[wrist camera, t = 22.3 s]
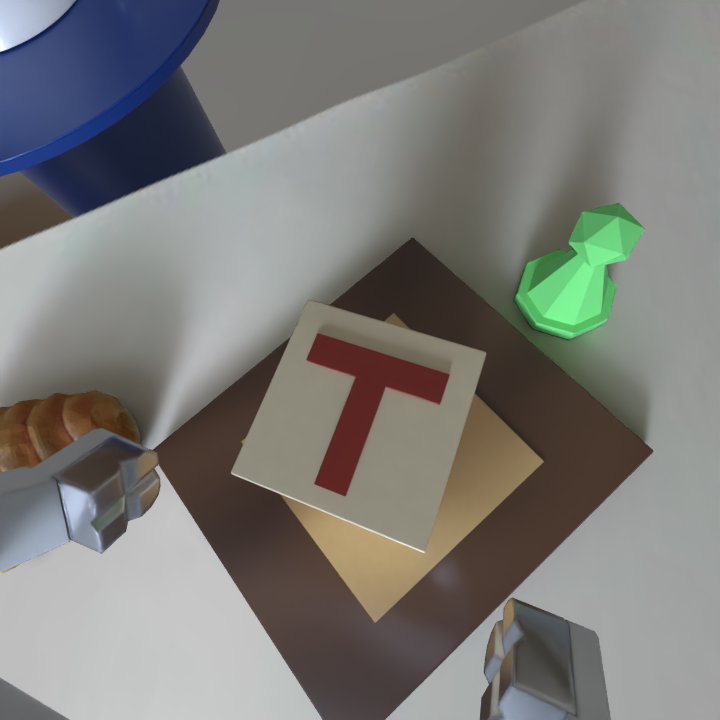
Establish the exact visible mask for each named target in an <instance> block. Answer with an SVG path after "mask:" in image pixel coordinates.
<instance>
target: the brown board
mask: <svg viewBox="0 0 720 720" xmlns="http://www.w3.org/2000/svg"><path fill="white" fill-rule="evenodd" d="M330 306H333V307H336V308H340V309H343V310H346V311H350V312H353V313H356V314H360V315H363V316H367V317H370V318H373V319H377V320H380V321H383V322H387V323H390V324H393V325H397V326H400V327H404V328H407V329H410V330H414V331H417V332H420V333H424V334H427V335H431V336H434V337H437V338H441V339H444V340H447V341H451V342H454V343H457V344H461V345H464V346H468V347H471V348H474V349H478V350H481V351H484V352H486V357H485V361H484V364H483V367H482V370H481V374H480V377H479V380H478V383H477V387H476V390H475V393H474V396H473V400H472V403H471V406H470V409H469V413H468V416H467V419H466V423H465V426H464V429H463V432H462V436H461V439H460V442H459V445H458V449H457V452H456V455H455V458H454V462H453V465H452V468H451V471H450V475H449V478H448V481H447V484H446V488H445V491H444V494H443V497H442V501H441V504H440V507H439V511H438V514H437V517H436V520H435V524H434V527H433V530H432V533H431V537H430V540H429V543H428V546H427V550H426V552H425V553H422V552H420V551H417V550H415V549H412V548H410V547H408V546H405V545H403V544H400V543H398V542H395V541H393V540H391V539H388V538H386V537H383V536H381V535H378V534H376V533H374V532H371V531H369V530H366V529H364V528H361V527H359V526H357V525H354V524H352V523H349V522H347V521H344V520H342V519H340V518H337V517H335V516H332V515H330V514H327V513H325V512H323V511H320V510H318V509H315V508H313V507H310V506H308V505H305V504H303V503H301V502H298V501H296V500H293V499H291V498H288V497H286V496H284V495H281V494H279V493H276V492H274V491H271V490H269V489H267V488H264V487H262V486H259V485H257V484H254V483H252V482H250V481H247V480H245V479H242V478H240V477H237V476H235V475H233V474H231V471H232V469H233V466H234V464H235V462H236V460H237V457H238V455H239V453H240V451H241V448H242V446H243V444H244V442H245V439H246V437H247V435H248V433H249V430H250V428H251V426H252V424H253V421H254V419H255V417H256V415H257V412H258V410H259V408H260V406H261V403H262V401H263V399H264V397H265V394H266V392H267V390H268V388H269V385H270V383H271V381H272V379H273V376H274V374H275V372H276V370H277V367H278V365H279V363H280V361H281V358H282V356H283V354H284V352H285V349H286V347H287V345H288V343H289V340H290V338H291V337H290V338H289V339H288V340H287V341H285V342H284V343H283V344H282V345H280V346H279V347H278V348H277V349H276V350H274V351H273V352H272V353H271V354H269V355H268V356H267V357H266V358H265V359H263V360H262V361H261V362H260V363H258V364H257V365H256V366H255V367H254V368H252V369H251V370H250V371H249V372H247V373H246V374H245V375H244V376H243V377H241V378H240V379H239V380H238V381H236V382H235V383H234V384H233V385H232V386H230V387H229V388H228V389H227V390H225V391H224V392H223V393H222V394H221V395H219V396H218V397H217V398H216V399H214V400H213V401H212V402H211V403H210V404H208V405H207V406H206V407H205V408H203V409H202V410H201V411H200V412H199V413H197V414H196V415H195V416H194V417H192V418H191V419H190V420H189V421H188V422H186V423H185V424H184V425H183V426H181V427H180V428H179V429H178V430H177V431H175V432H174V433H173V434H172V435H170V436H169V437H168V438H167V439H166V440H164V441H163V442H162V443H161V444H159V445H158V446H157V447H156V448H155V449H153V451H155V452H157V453H158V459H159V466H160V468H161V469H162V471H163V472H164V474H165V475H166V477H167V478H168V480H169V482H170V483H171V485H172V486H173V488H174V489H175V491H176V492H177V494H178V495H179V497H180V499H181V500H182V502H183V503H184V505H185V506H186V508H187V509H188V511H189V513H190V514H191V516H192V517H193V519H194V520H195V522H196V523H197V525H198V527H199V528H200V530H201V531H202V533H203V534H204V536H205V537H206V539H207V541H208V542H209V544H210V545H211V547H212V548H213V550H214V551H215V553H216V554H217V556H218V558H219V559H220V561H221V562H222V564H223V565H224V567H225V568H226V570H227V572H228V573H229V575H230V576H231V578H232V579H233V581H234V582H235V584H236V586H237V587H238V589H239V590H240V592H241V593H242V595H243V596H244V598H245V600H246V601H247V603H248V604H249V606H250V607H251V609H252V610H253V612H254V613H255V615H256V617H257V618H258V620H259V621H260V623H261V624H262V626H263V627H264V629H265V631H266V632H267V634H268V635H269V637H270V638H271V640H272V641H273V643H274V645H275V646H276V648H277V649H278V651H279V652H280V654H281V655H282V657H283V659H284V660H285V662H286V663H287V665H288V666H289V668H290V669H291V671H292V673H293V674H294V676H295V677H296V679H297V680H298V682H299V683H300V685H301V686H302V688H303V690H304V691H305V693H306V694H307V696H308V697H309V699H310V700H311V702H312V704H313V705H314V707H315V708H316V710H317V711H318V713H319V714H320V716H321V718H322V719H323V720H385V719H386V718H387V717H388V716H389V715H390V714H391V713H392V712H393V711H394V710H395V709H396V708H397V707H398V706H399V705H400V704H401V703H402V702H403V701H404V700H405V699H406V698H407V697H408V696H409V695H410V694H411V693H412V692H413V691H414V690H415V689H416V688H417V687H418V686H419V685H420V684H421V683H422V682H423V681H424V680H425V679H426V678H427V677H428V676H429V675H430V674H431V673H432V672H433V671H434V670H435V669H436V668H437V667H438V666H439V665H440V664H441V663H442V662H443V661H444V660H445V659H446V658H447V657H448V656H449V655H450V654H451V653H452V652H453V651H454V650H455V649H456V648H457V647H458V646H459V645H460V644H461V643H462V642H463V641H464V640H465V639H466V638H467V637H468V636H469V635H470V634H471V633H472V632H473V631H474V630H475V629H476V628H477V627H478V626H479V625H480V624H481V623H482V622H483V621H484V620H485V619H486V618H487V617H488V616H489V615H490V614H491V613H492V612H493V611H494V610H495V609H496V608H497V607H498V606H499V605H500V604H501V603H502V602H503V601H504V600H505V599H506V598H507V597H508V596H509V595H510V594H511V593H512V592H513V591H514V590H515V589H516V588H517V587H518V586H519V585H520V584H521V583H522V582H523V581H524V580H525V579H526V578H527V577H528V576H529V575H530V574H531V573H532V572H533V571H534V570H535V569H536V568H537V567H538V566H539V565H540V564H541V563H542V562H543V561H544V560H545V559H546V558H547V557H548V556H549V555H550V554H551V553H552V552H553V551H554V550H555V549H556V548H557V547H558V546H559V545H560V544H561V543H562V542H563V541H564V540H565V539H566V538H567V537H569V536H570V535H571V534H572V533H573V532H574V531H575V530H576V529H577V528H578V527H579V526H580V525H581V524H582V523H583V522H584V521H585V520H586V519H587V518H588V517H589V516H590V515H591V514H592V513H593V512H594V511H595V510H596V509H597V508H598V507H599V506H600V505H601V504H602V503H603V502H604V501H605V500H606V499H607V498H608V497H609V496H610V495H611V494H612V493H613V492H614V491H615V490H616V489H617V488H618V487H619V486H620V485H621V484H622V483H623V482H624V481H625V480H626V479H627V478H628V477H629V476H630V475H631V474H632V473H633V472H634V471H635V470H636V469H637V468H638V467H639V466H640V465H641V464H642V463H643V462H644V461H645V460H646V459H647V458H648V457H649V456H650V455H651V454H652V453H653V450H652V449H651V448H650V447H649V446H648V445H647V444H645V443H644V442H643V441H642V440H641V439H640V438H639V437H638V436H636V435H635V434H634V433H633V432H632V431H631V430H630V429H629V428H627V427H626V426H625V425H624V424H623V423H622V422H621V421H620V420H618V419H617V418H616V417H615V416H614V415H613V414H612V413H610V412H609V411H608V410H607V409H606V408H605V407H604V406H603V405H601V404H600V403H599V402H598V401H597V400H596V399H595V398H594V397H592V396H591V395H590V394H589V393H588V392H587V391H586V390H585V389H583V388H582V387H581V386H580V385H579V384H578V383H577V382H575V381H574V380H573V379H572V378H571V377H570V376H569V375H568V374H566V373H565V372H564V371H563V370H562V369H561V368H560V367H559V366H557V365H556V364H555V363H554V362H553V361H552V360H551V359H550V358H548V357H547V356H546V355H545V354H544V353H543V352H542V351H541V350H539V349H538V348H537V347H536V346H535V345H534V344H533V343H531V342H530V341H529V340H528V339H527V338H526V337H525V336H524V335H522V334H521V333H520V332H519V331H518V330H517V329H516V328H515V327H513V326H512V325H511V324H510V323H509V322H508V321H507V320H506V319H504V318H503V317H502V316H501V315H500V314H499V313H498V312H496V311H495V310H494V309H493V308H492V307H491V306H490V305H489V304H487V303H486V302H485V301H484V300H483V299H482V298H481V297H480V296H478V295H477V294H476V293H475V292H474V291H473V290H472V289H471V288H469V287H468V286H467V285H466V284H465V283H464V282H463V281H462V280H460V279H459V278H458V277H457V276H456V275H455V274H454V273H452V272H451V271H450V270H449V269H448V268H447V267H446V266H445V265H443V264H442V263H441V262H440V261H439V260H438V259H437V258H436V257H434V256H433V255H432V254H431V253H430V252H429V251H428V250H427V249H425V248H424V247H423V246H422V245H421V244H420V243H419V242H417V241H416V240H415V239H414V238H411V239H410V240H409V241H407V242H406V243H405V244H404V245H403V246H401V247H400V248H399V249H398V250H396V251H395V252H394V253H393V254H392V255H390V256H389V257H388V258H387V259H385V260H384V261H383V262H382V263H381V264H379V265H378V266H377V267H376V268H375V269H373V270H372V271H371V272H370V273H368V274H367V275H366V276H365V277H364V278H362V279H361V280H360V281H359V282H357V283H356V284H355V285H354V286H353V287H351V288H350V289H349V290H348V291H346V292H345V293H344V294H343V295H342V296H340V297H339V298H338V299H337V300H335V301H334V302H333V303H332V304H331V305H330Z"/></svg>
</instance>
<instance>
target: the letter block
mask: <svg viewBox="0 0 720 720" xmlns="http://www.w3.org/2000/svg"><path fill="white" fill-rule="evenodd" d="M485 357H486V352H484V351H481V350H478V349H474V348H471V347H468V346H464V345H461V344H457V343H454V342H451V341H447V340H444V339H441V338H437V337H434V336H431V335H427V334H424V333H420V332H417V331H414V330H410V329H407V328H404V327H400V326H397V325H393V324H390V323H387V322H383V321H380V320H377V319H373V318H370V317H367V316H363V315H360V314H356V313H353V312H350V311H346V310H343V309H340V308H336V307H333V306H330V305H326V304H323V303H319V302H316V301H313V300H309V299H308V300H307V302H306V305H305V307H304V309H303V311H302V313H301V316H300V318H299V320H298V322H297V325H296V327H295V329H294V331H293V334H292V336H291V338H290V340H289V343H288V345H287V347H286V349H285V352H284V354H283V356H282V358H281V361H280V363H279V365H278V367H277V370H276V372H275V374H274V376H273V379H272V381H271V383H270V385H269V388H268V390H267V392H266V394H265V397H264V399H263V401H262V403H261V406H260V408H259V410H258V412H257V415H256V417H255V419H254V421H253V424H252V426H251V428H250V430H249V433H248V435H247V437H246V439H245V442H244V444H243V446H242V448H241V451H240V453H239V455H238V457H237V460H236V462H235V464H234V466H233V469H232V471H231V474H233V475H235V476H237V477H240V478H242V479H245V480H247V481H250V482H252V483H254V484H257V485H259V486H262V487H264V488H267V489H269V490H271V491H274V492H276V493H279V494H281V495H284V496H286V497H288V498H291V499H293V500H296V501H298V502H301V503H303V504H305V505H308V506H310V507H313V508H315V509H318V510H320V511H323V512H325V513H327V514H330V515H332V516H335V517H337V518H340V519H342V520H344V521H347V522H349V523H352V524H354V525H357V526H359V527H361V528H364V529H366V530H369V531H371V532H374V533H376V534H378V535H381V536H383V537H386V538H388V539H391V540H393V541H395V542H398V543H400V544H403V545H405V546H408V547H410V548H412V549H415V550H417V551H420V552H422V553H425V552H426V550H427V546H428V543H429V540H430V537H431V533H432V530H433V527H434V524H435V520H436V517H437V514H438V511H439V507H440V504H441V501H442V497H443V494H444V491H445V488H446V484H447V481H448V478H449V475H450V471H451V468H452V465H453V462H454V458H455V455H456V452H457V449H458V445H459V442H460V439H461V436H462V432H463V429H464V426H465V423H466V419H467V416H468V413H469V409H470V406H471V403H472V400H473V396H474V393H475V390H476V387H477V383H478V380H479V377H480V374H481V370H482V367H483V364H484V361H485Z"/></svg>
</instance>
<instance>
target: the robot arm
mask: <svg viewBox="0 0 720 720" xmlns="http://www.w3.org/2000/svg"><path fill="white" fill-rule="evenodd" d="M75 1H76V0H0V52H2V51H4V50H7V49H10V48H12V47H14V46H17V45H19V44H21V43H23V42H25V41H27V40H29V39H31V38H32V37H34V36H36V35H37V34H39V33H40V32H42V31H43V30H45V29H46V28H48V27H49V26H50V25H52V24H53V23H54V22H55V21H57V20H58V19H59V18H60V17H61V16H62V15H63V14H64V13H65V12H66V11H67V10H68V9H69V8H70V7H71V6H72V5H73V4H74V2H75ZM158 464H159V459H158V453H157V452H155V451H153V450H151V449H148V448H146V447H144V446H142V445H140V444H137V443H135V442H133V441H131V440H128V439H126V438H124V437H122V436H119V435H117V434H115V433H112V432H110V431H108V430H105V429H103V428H99V429H94V430H92V431H90V432H89V433H87V434H86V435H84V436H82V437H81V438H79V439H78V440H76V441H74V442H73V443H71V444H70V445H68V446H67V447H65V448H63V449H62V450H60V451H59V452H57V453H55V454H54V455H52V456H51V457H49V458H48V459H46V460H44V461H43V462H41V463H40V464H38V465H36V466H35V467H33V468H30V467H28V466H25V467H21V468H17V469H12V470H8V471H4V472H0V572H3V571H5V570H7V569H9V568H12V567H14V566H16V565H18V564H21V563H23V562H25V561H27V560H30V559H32V558H34V557H37V556H39V555H41V554H43V553H46V552H48V551H50V550H52V549H55V548H57V547H59V546H61V545H64V544H66V543H68V542H70V540H72V541H75V542H77V543H79V544H81V545H83V546H86V547H88V548H90V549H92V550H95V551H97V552H99V553H101V554H102V553H103V552H104V551H105V550H106V549H107V548H108V547H110V546H111V545H112V544H113V543H114V542H115V541H116V540H117V539H118V538H119V537H120V536H121V535H122V534H123V533H125V532H126V529H127V525H128V521H130V520H133V519H136V518H139V517H142V516H143V515H144V514H145V513H146V512H147V511H148V510H149V509H150V508H151V506H152V505H153V503H154V502H155V500H156V498H157V497H158V494H159V490H160V486H161V485H160V477H159V476H158V474H157V472H156V471H155V469H154V468H155V467H156V466H157V465H158ZM69 539H70V540H69ZM484 674H485V676H486V679H487V681H488V683H489V686H488V687H487V689H486V691H485V693H484V694H483V696H482V698H481V711H480V720H611V717H610V711H609V704H608V698H607V691H606V684H605V678H604V671H603V665H602V658H601V651H600V645H599V638H598V636H597V635H596V633H595V631H592V630H590V629H587V628H585V627H583V626H580V625H578V624H575V623H573V622H570V621H568V620H565V619H564V618H562V617H560V616H557V615H555V614H552V613H550V612H547V611H545V610H542V609H540V608H537V607H535V606H532V605H529V604H527V603H524V602H522V601H519V600H517V599H514V598H511V599H509V600H508V602H507V603H506V605H505V607H504V612H503V620H501V621H498V622H496V624H495V626H494V628H493V630H492V632H491V635H490V638H489V642H488V645H487V650H486V656H485V665H484ZM0 720H69V719H68V718H66V717H64V716H63V715H61V714H59V713H58V712H56V711H54V710H53V709H51V708H50V707H48V706H46V705H45V704H43V703H41V702H40V701H38V700H36V699H35V698H33V697H31V696H30V695H28V694H26V693H25V692H23V691H21V690H20V689H18V688H16V687H15V686H13V685H12V684H10V683H8V682H7V681H5V680H3V679H2V678H0Z"/></svg>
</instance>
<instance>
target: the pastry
mask: <svg viewBox="0 0 720 720" xmlns="http://www.w3.org/2000/svg"><path fill="white" fill-rule="evenodd" d="M99 428H103V429H105V430H108V431H110V432H112V433H115V434H117V435H119V436H122V437H124V438H126V439H128V440H131V441H133V442H135V443H137V444H140V443H141V436H140V433H139V430H138V426H137V423H136V420H135V418H134V417H133V415H132V414H131V413H130V412H129V411H128V410H127V409H126V408H125V407H124V406H123V405H122V404H121V402H120V401H119V400H118V399H116V398H115V397H112V396H109V395H107V394H103V393H101V392H99V391H90V392H85V393H79V394H73V395H68V394H61V393H55V394H54V395H52V396H51V397H49V398H47V399H44V400H36V399H35V400H28V401H21V402H18V403H16V404H15V405H13V406H12V407H1V408H0V472H4V471H8V470H12V469H17V468H21V467H25V466H28V467H30V468H33V467H35V466H36V465H38V464H40V463H41V462H43V461H44V460H46V459H48V458H49V457H51V456H52V455H54V454H55V453H57V452H59V451H60V450H62V449H63V448H65V447H67V446H68V445H70V444H71V443H73V442H74V441H76V440H78V439H79V438H81V437H82V436H84V435H86V434H87V433H89V432H90V431H92V430H94V429H99ZM18 565H20V564H18ZM18 565H16V566H18ZM16 566H14V567H12V568H9V569H7V570H5V571H3V572H0V573H4V572H6V571H9V570H11V569H13V568H15V567H16Z"/></svg>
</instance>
